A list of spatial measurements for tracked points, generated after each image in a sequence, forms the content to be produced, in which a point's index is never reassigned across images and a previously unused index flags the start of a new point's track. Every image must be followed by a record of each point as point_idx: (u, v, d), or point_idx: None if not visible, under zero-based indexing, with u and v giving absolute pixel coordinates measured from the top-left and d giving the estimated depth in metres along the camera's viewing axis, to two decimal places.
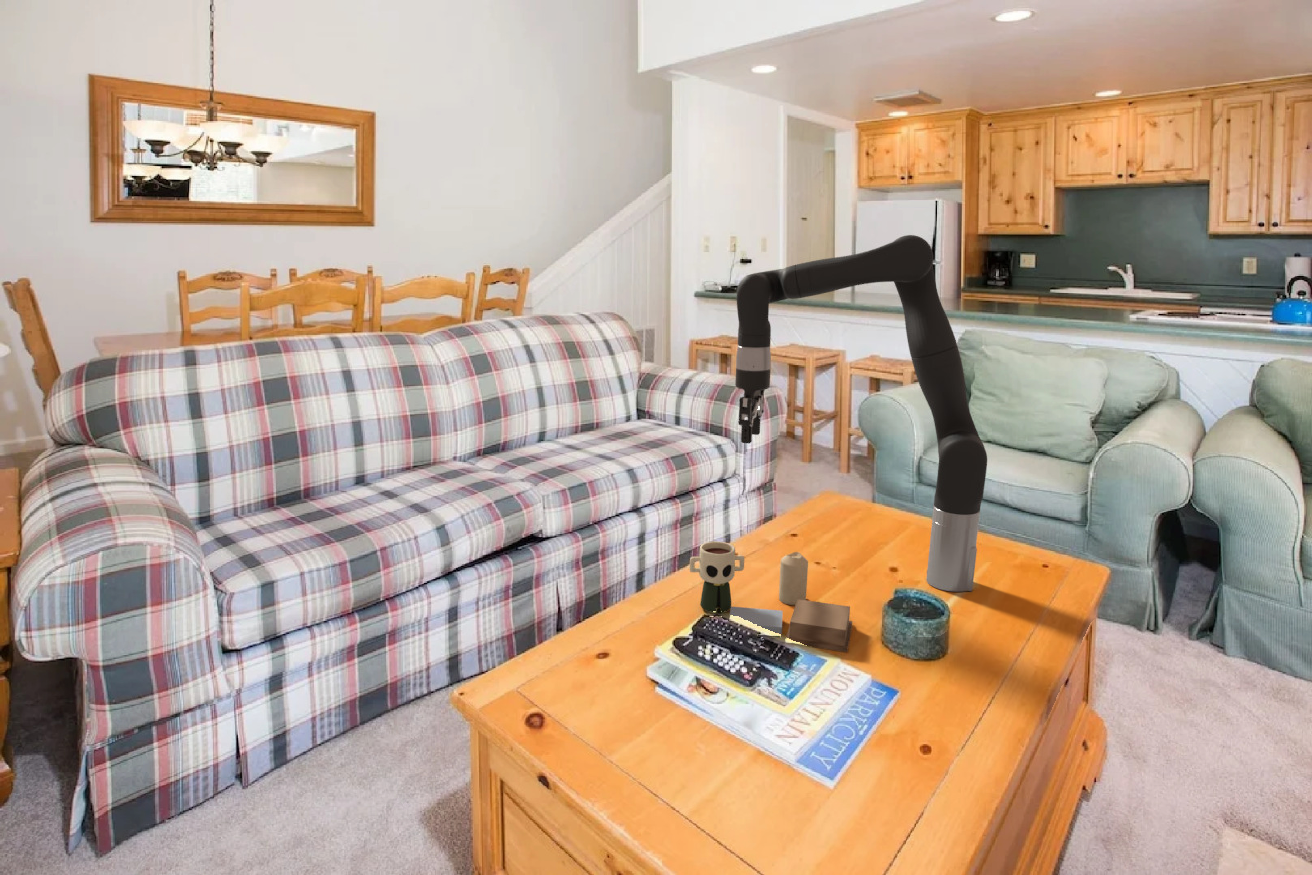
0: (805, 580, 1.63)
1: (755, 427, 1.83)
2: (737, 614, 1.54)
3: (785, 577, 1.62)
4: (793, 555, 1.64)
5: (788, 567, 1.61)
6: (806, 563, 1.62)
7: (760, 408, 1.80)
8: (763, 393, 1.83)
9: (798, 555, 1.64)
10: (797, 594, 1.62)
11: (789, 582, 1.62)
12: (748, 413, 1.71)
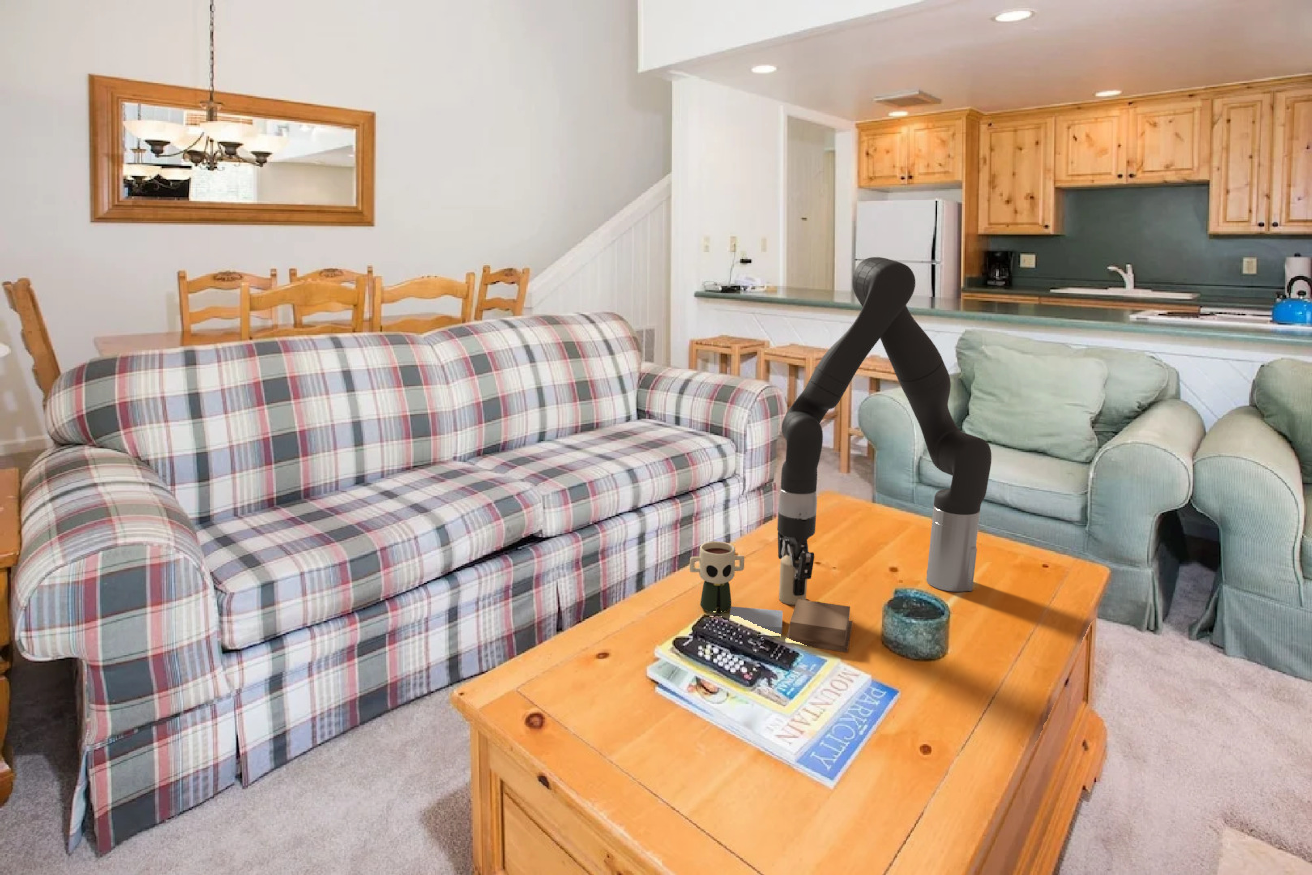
0: (805, 580, 1.63)
1: None
2: (737, 614, 1.54)
3: (785, 577, 1.62)
4: None
5: (788, 567, 1.61)
6: None
7: None
8: (801, 559, 1.57)
9: None
10: None
11: (789, 582, 1.62)
12: None
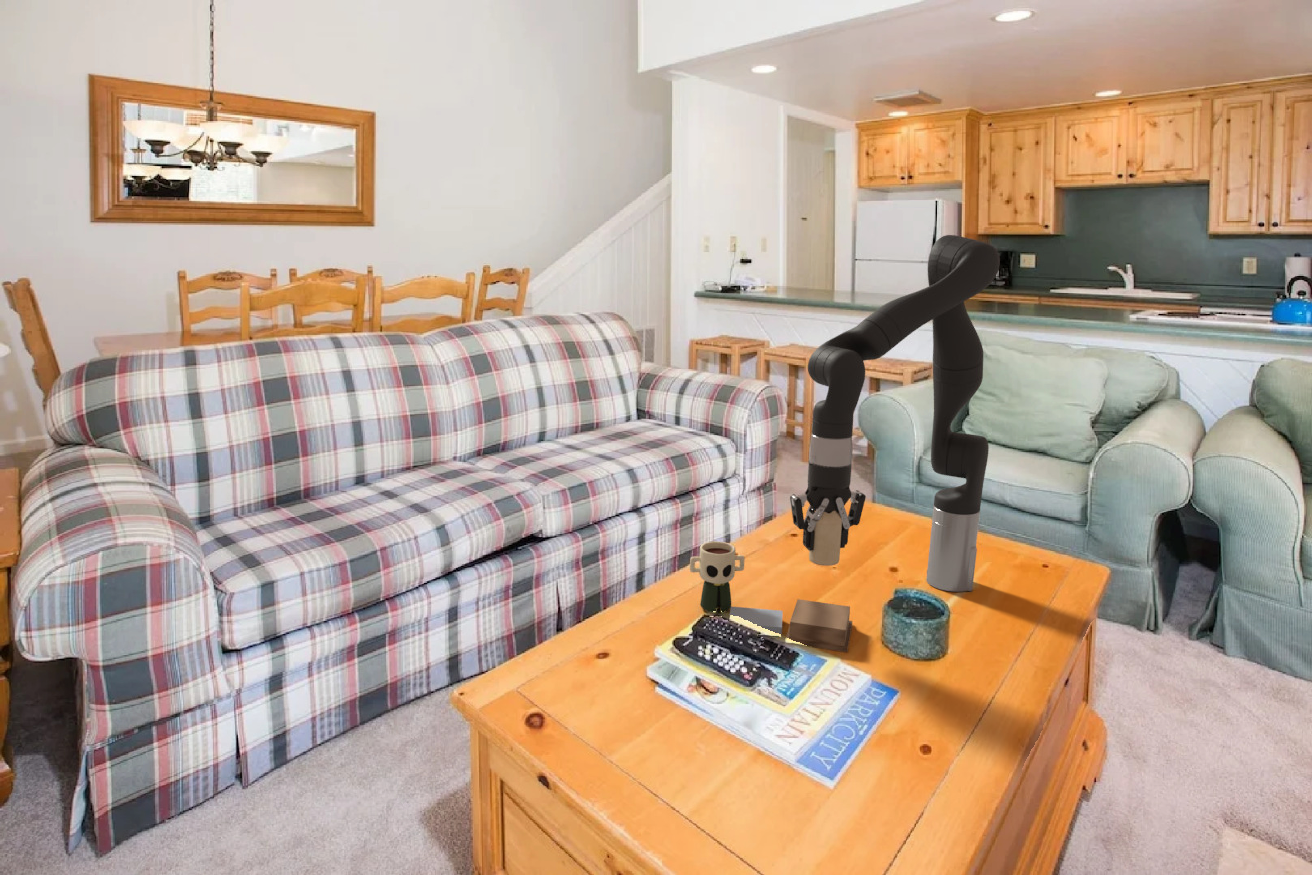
0: (818, 538, 1.45)
1: None
2: (737, 614, 1.54)
3: None
4: None
5: None
6: (821, 520, 1.44)
7: None
8: None
9: None
10: None
11: None
12: None
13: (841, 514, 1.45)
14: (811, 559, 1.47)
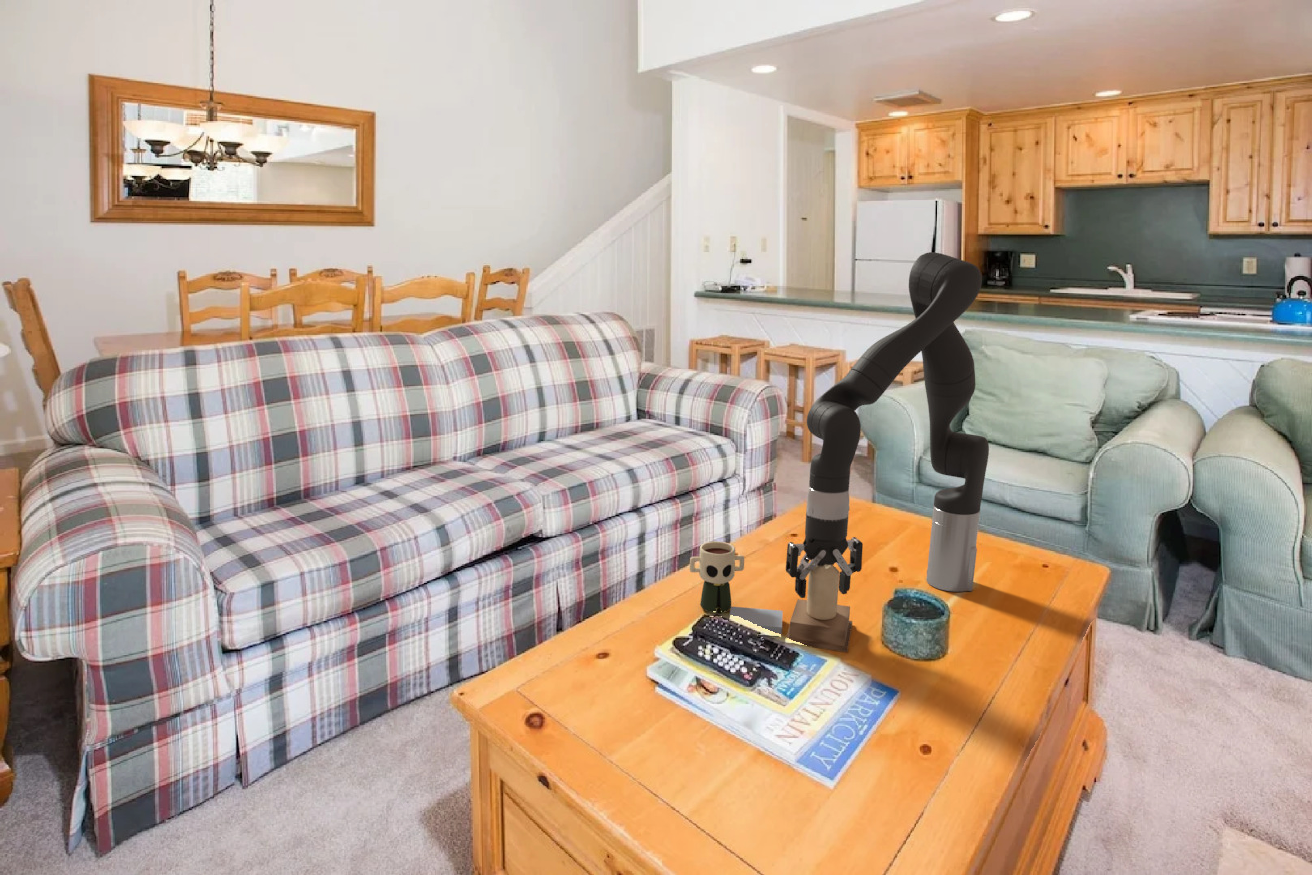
0: (816, 593, 1.47)
1: None
2: (737, 614, 1.54)
3: None
4: (829, 567, 1.49)
5: None
6: (818, 575, 1.47)
7: None
8: None
9: None
10: (807, 602, 1.50)
11: None
12: None
13: (841, 563, 1.47)
14: (809, 613, 1.50)
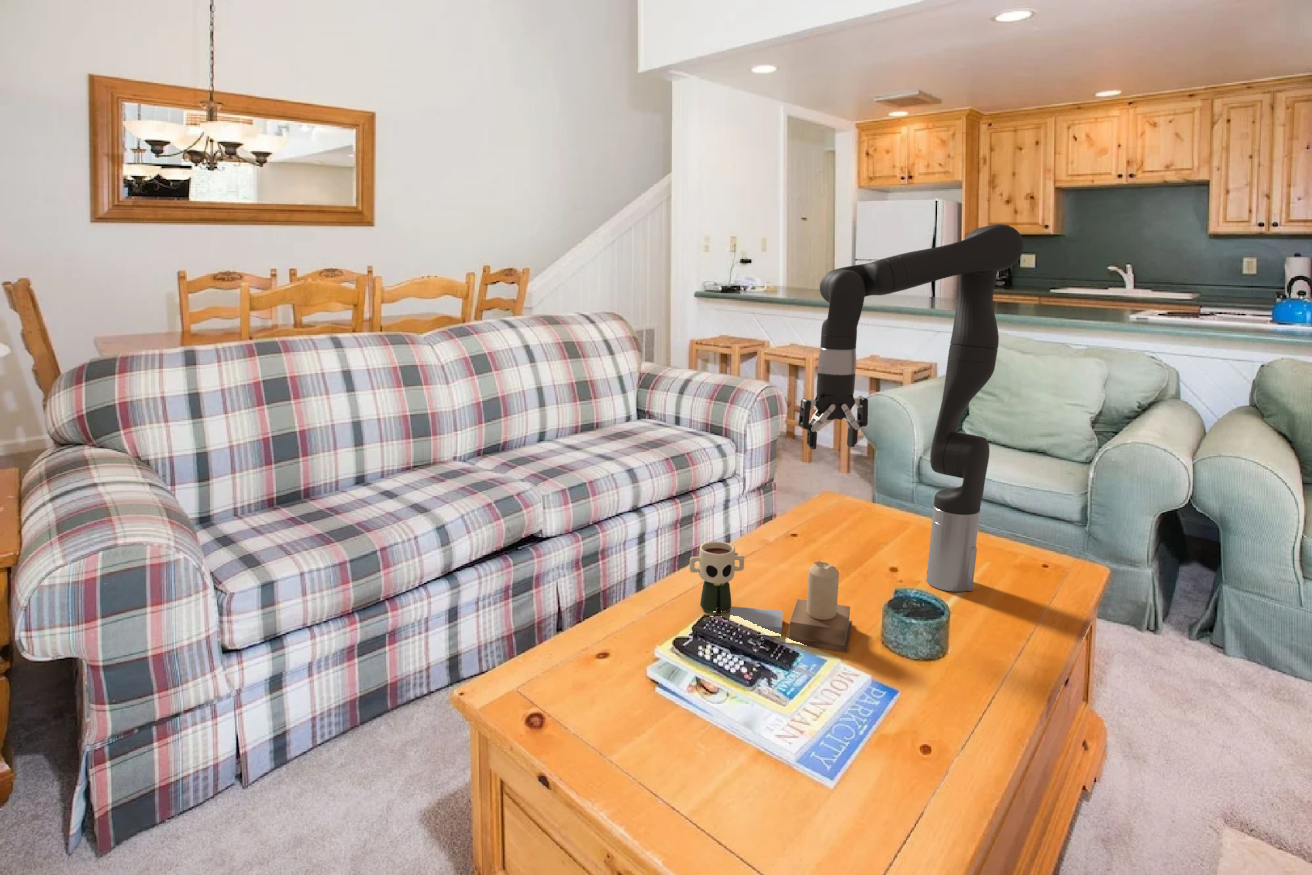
0: (815, 593, 1.47)
1: None
2: (737, 614, 1.54)
3: None
4: (829, 567, 1.49)
5: None
6: (818, 575, 1.47)
7: None
8: None
9: None
10: (807, 602, 1.50)
11: None
12: None
13: (849, 418, 1.64)
14: (808, 613, 1.50)
